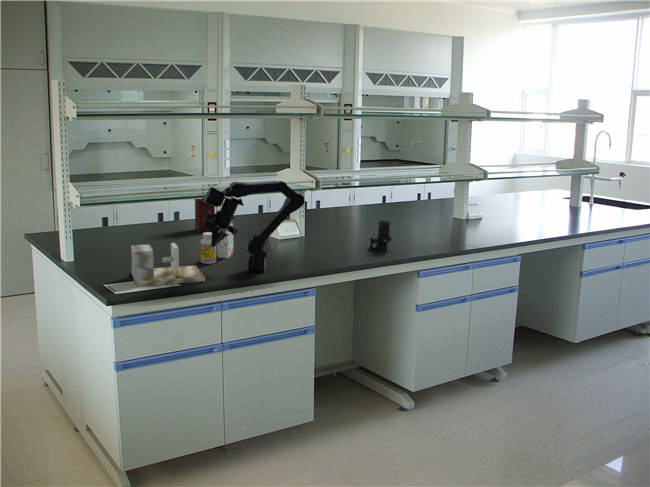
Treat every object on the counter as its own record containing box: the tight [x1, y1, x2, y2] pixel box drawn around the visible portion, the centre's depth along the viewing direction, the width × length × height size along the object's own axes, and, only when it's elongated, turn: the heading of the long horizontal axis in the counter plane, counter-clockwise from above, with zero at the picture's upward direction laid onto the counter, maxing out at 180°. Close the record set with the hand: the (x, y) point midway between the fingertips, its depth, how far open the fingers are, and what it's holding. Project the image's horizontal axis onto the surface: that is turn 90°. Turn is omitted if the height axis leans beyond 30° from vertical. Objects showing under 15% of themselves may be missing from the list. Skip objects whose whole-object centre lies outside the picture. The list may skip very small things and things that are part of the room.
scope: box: [368, 220, 393, 252], centre depth 313 cm, size 8×14×10 cm
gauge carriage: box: [161, 242, 180, 276], centre depth 254 cm, size 6×13×11 cm, turn 22°
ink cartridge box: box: [217, 222, 234, 259], centre depth 291 cm, size 9×5×15 cm, turn 170°
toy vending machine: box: [194, 198, 216, 234], centre depth 342 cm, size 9×11×28 cm
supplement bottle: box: [200, 232, 217, 265], centre depth 280 cm, size 7×7×13 cm
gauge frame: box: [130, 244, 206, 287], centre depth 256 cm, size 26×19×12 cm
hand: (212, 246), depth 263 cm, fingers closed
